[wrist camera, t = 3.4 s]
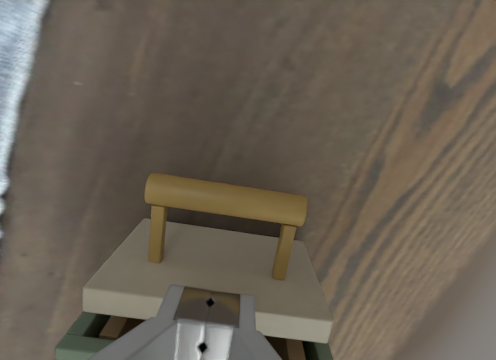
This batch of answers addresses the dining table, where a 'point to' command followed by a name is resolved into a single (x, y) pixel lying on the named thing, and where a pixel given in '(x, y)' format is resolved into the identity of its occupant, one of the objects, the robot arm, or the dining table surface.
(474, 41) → the dining table surface
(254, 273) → the drawer
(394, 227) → the dining table surface
